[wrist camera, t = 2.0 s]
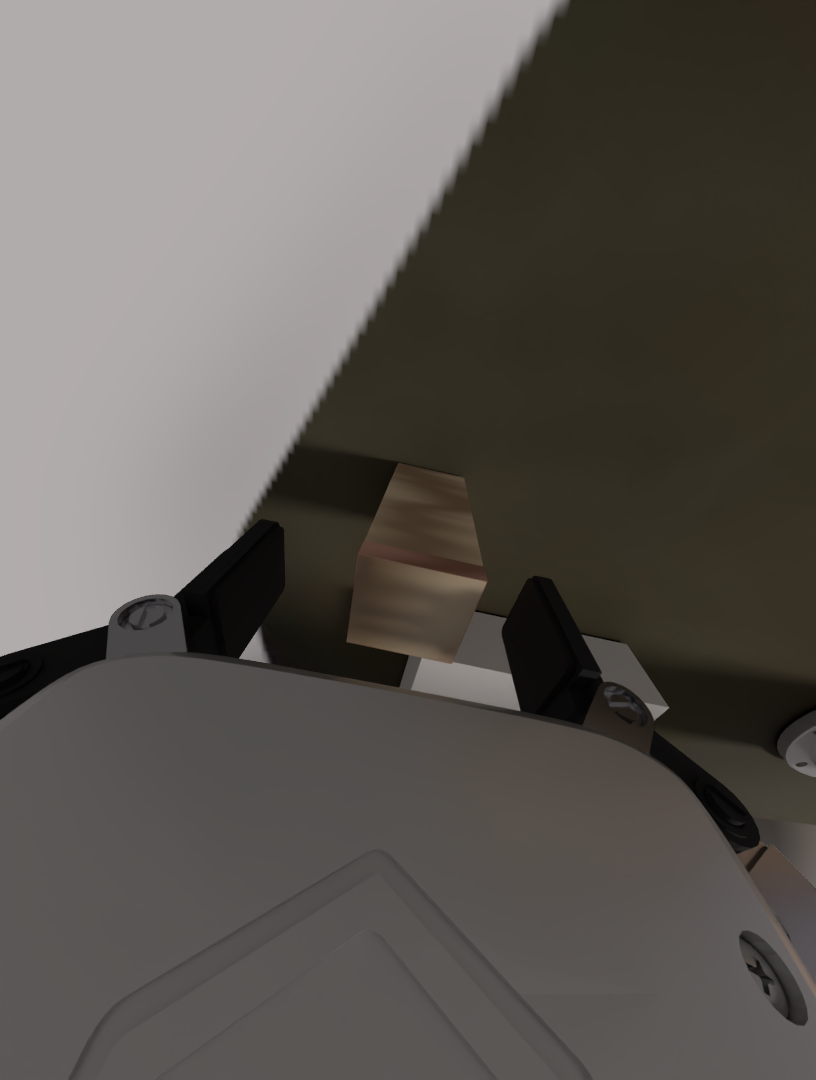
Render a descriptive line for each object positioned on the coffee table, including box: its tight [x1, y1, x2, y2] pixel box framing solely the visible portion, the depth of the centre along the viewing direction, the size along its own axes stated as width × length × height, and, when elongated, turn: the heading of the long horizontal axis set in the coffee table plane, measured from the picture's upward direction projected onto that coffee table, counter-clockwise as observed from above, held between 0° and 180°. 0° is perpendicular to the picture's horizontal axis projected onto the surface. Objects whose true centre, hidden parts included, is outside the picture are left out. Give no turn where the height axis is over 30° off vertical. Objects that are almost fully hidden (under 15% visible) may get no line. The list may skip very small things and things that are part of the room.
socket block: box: [399, 612, 669, 720], centre depth 25 cm, size 16×16×5 cm
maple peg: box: [346, 463, 487, 664], centre depth 14 cm, size 4×4×10 cm
